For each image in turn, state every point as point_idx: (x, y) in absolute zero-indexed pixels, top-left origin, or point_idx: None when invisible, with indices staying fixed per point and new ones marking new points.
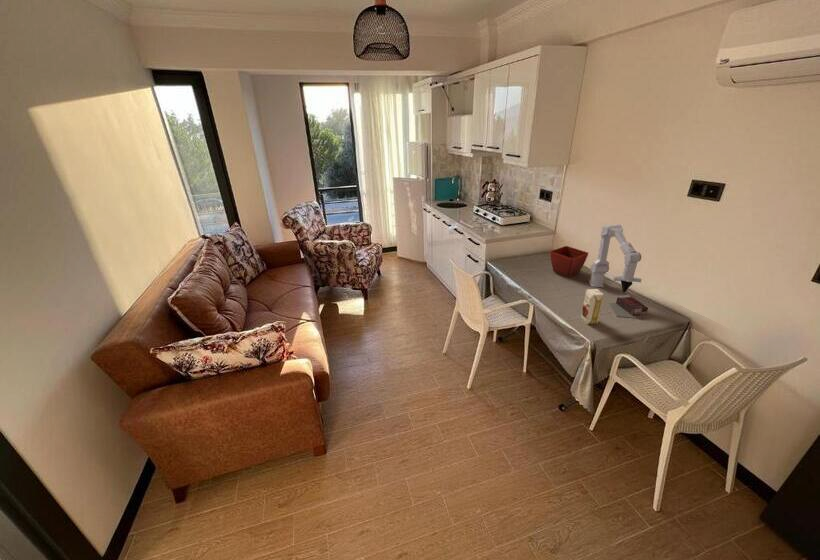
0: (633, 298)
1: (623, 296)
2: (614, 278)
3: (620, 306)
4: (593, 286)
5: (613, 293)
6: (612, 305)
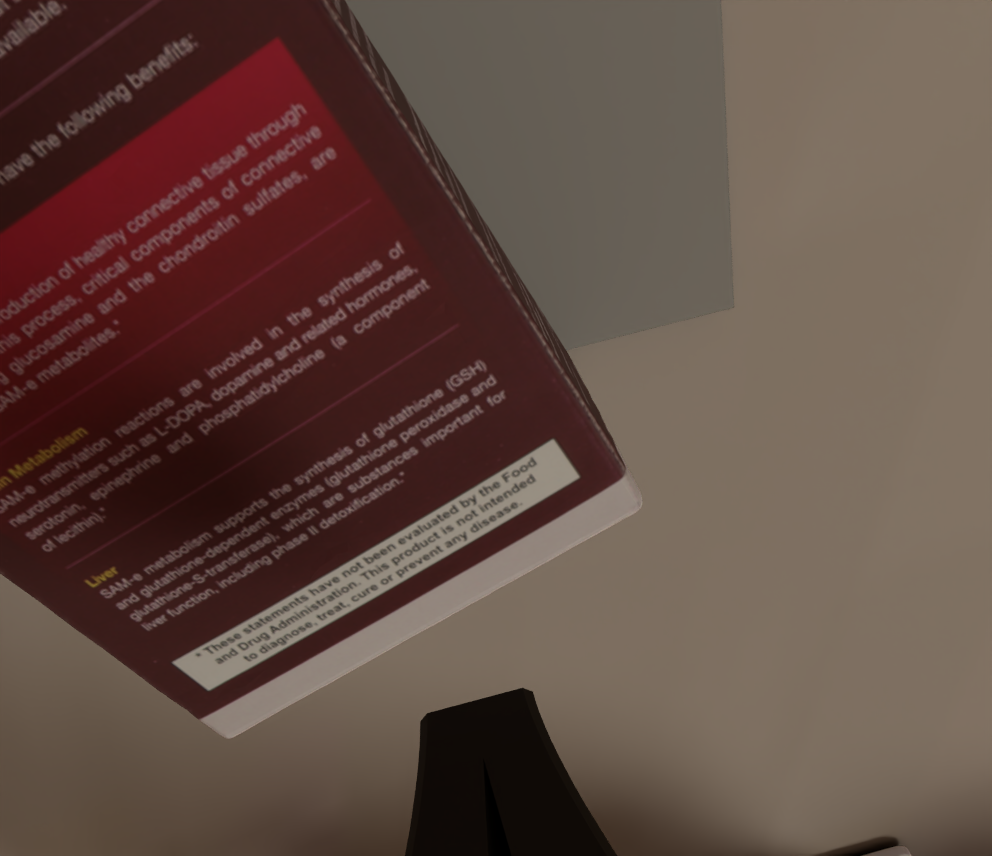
0: (62, 582)
1: (422, 582)
2: None
3: None
4: (873, 853)
5: None
6: (682, 152)
